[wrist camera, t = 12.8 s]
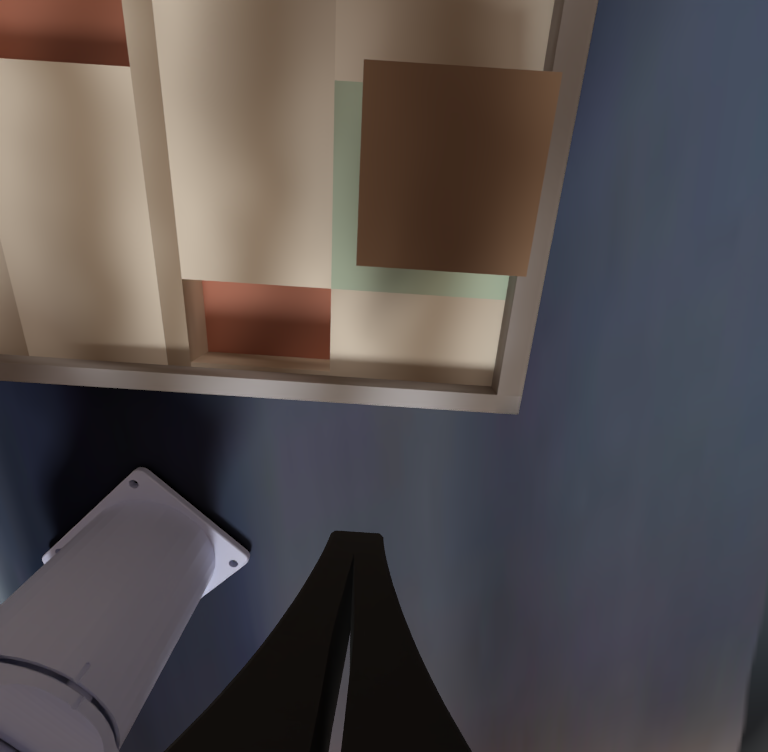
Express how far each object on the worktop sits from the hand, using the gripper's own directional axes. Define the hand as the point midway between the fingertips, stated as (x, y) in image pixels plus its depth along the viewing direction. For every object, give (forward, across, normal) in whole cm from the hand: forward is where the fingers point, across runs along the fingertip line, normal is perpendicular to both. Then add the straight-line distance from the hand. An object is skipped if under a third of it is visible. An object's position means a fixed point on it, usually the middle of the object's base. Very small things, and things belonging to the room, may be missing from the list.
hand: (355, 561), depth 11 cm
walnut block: (+7, -2, -10) cm, 13 cm away
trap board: (+9, +10, -10) cm, 17 cm away
